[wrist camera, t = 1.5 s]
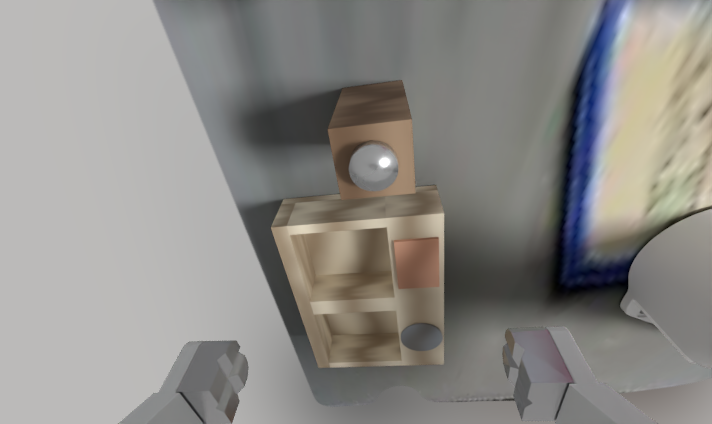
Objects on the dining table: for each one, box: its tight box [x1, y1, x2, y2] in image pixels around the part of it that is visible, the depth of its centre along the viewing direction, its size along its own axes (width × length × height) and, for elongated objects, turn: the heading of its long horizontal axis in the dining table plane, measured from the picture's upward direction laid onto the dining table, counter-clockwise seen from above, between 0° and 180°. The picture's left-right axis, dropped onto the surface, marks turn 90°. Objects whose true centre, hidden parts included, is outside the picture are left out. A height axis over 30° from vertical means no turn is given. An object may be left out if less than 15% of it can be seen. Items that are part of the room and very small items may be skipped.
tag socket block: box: [271, 185, 444, 368], centre depth 38 cm, size 16×22×5 cm
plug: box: [328, 80, 416, 200], centre depth 25 cm, size 5×5×11 cm
